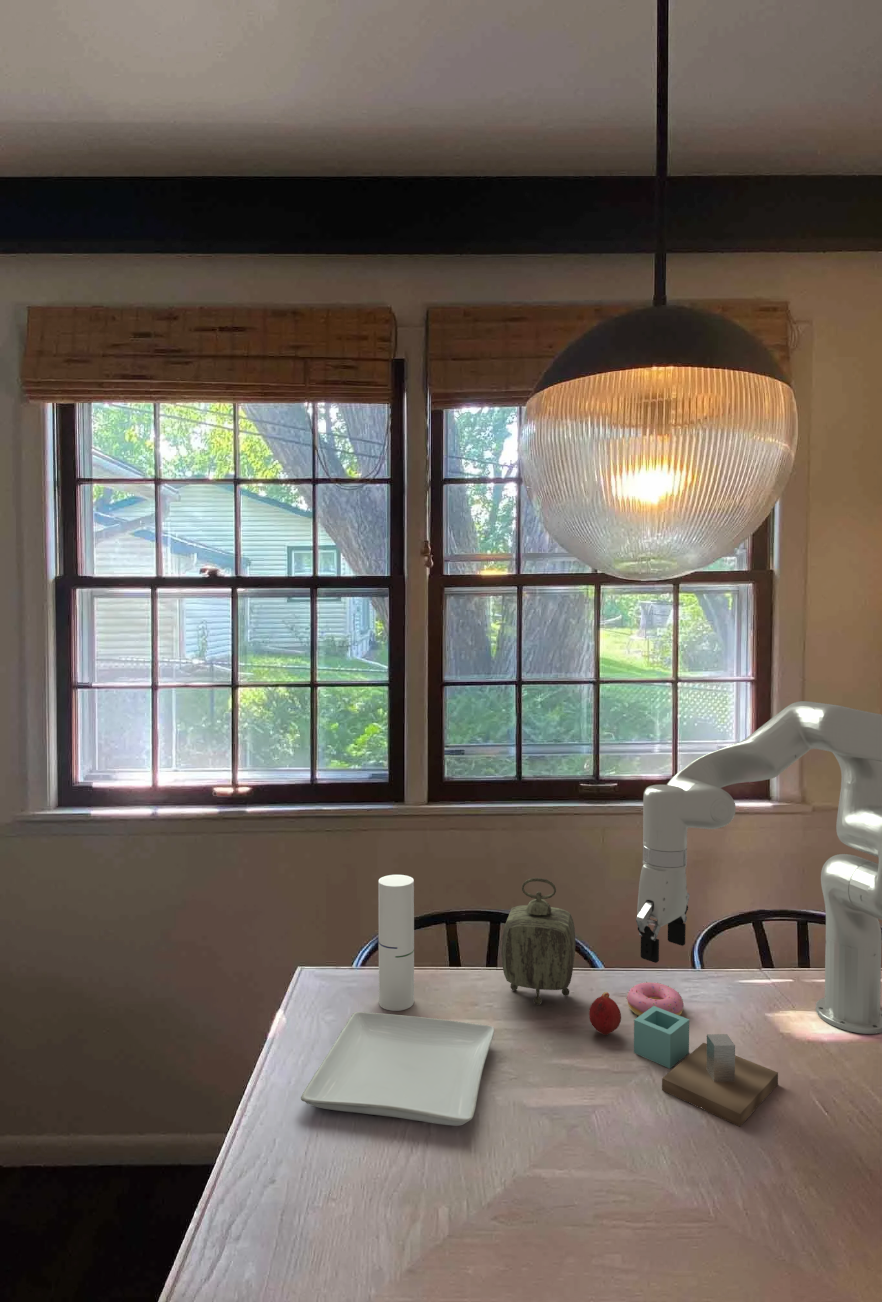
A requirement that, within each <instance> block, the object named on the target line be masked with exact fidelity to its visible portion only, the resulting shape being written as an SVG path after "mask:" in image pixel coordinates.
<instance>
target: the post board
mask: <svg viewBox="0 0 882 1302" xmlns="http://www.w3.org/2000/svg"><path fill="white" fill-rule="evenodd" d="M778 1085H779V1072H777V1071H775V1070H772V1069H770V1068H767V1067H765V1066H763V1065H760V1064H758V1063H755V1062H753V1061H751V1060H748V1059H745V1058H742V1057H741V1056H739V1055H736V1045H735V1043H734V1041H732V1039H731V1038H730V1035H728V1034H727V1033H726V1034H724V1033H721V1034H720V1033H718V1034H717V1033H711V1034H710V1033H709V1034H706V1042H702V1043H701V1044H700V1045H699V1046H697V1047H696V1048H695V1049H694V1050H693V1051H692V1052H690V1053H689V1054H687V1055H686V1057H685V1058H684V1059H683V1060H681V1061H679V1063H678V1064H676V1065H675V1067H672V1068H671V1070H670V1071H668V1073H666V1074H665V1075H664V1076H663V1077H662V1078H661V1091H662V1092H665V1093H667V1094H669V1095H672V1096H673V1097H675V1096H676V1097H675V1098H678V1099H680V1100H682V1101H684V1100H685V1102H686V1101H687V1102H686V1103H688V1102H690V1103H692V1104H691V1105H693V1104H694V1105H693V1106H695V1105H696V1106H695V1107H697V1106H698V1107H697V1108H699V1107H702V1108H703V1109H705V1110H706V1112H707V1111H708V1112H707V1113H710V1114H712V1115H715V1116H717V1117H718V1118H721V1119H723V1120H725V1121H727V1122H729V1123H731V1124H733V1125H736V1126H738V1127H741V1126H742V1125H743V1124H744V1123H745V1122H746V1121H747V1119H749V1117H750V1116H751V1115H752V1114H753V1113H754V1112H755V1111H756V1110H757V1108H758V1107H760V1105H761V1104H762V1102H764V1101H765V1100H766V1099H767V1097H768V1096H769V1095H770V1094H772V1092H773V1090H775V1089H776V1087H778ZM690 1103H689V1104H690ZM703 1109H702V1110H703ZM705 1110H704V1111H705Z"/></svg>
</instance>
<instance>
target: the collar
mask: <svg viewBox="0 0 882 1302" xmlns="http://www.w3.org/2000/svg"><path fill="white" fill-rule="evenodd" d="M633 1054H635V1055H638V1056H641V1057H643V1058H644V1059H647V1060H649V1061H652V1062H654V1063H656V1064H659V1065H660V1066H663V1067H665V1068H667V1069H672V1068H674V1066H676V1065H677V1063H678V1062H681V1061H682V1059H683V1058H684V1057H685V1056H688V1055H689V1054H690V1019H688V1018H686V1017H684V1016H681V1015H680V1016H679V1015H676V1014H674V1013H671V1012H668V1011H666V1010H663V1009H661V1008H658V1007H655V1006H653V1007H651V1008H650V1009H649V1010H647V1011H646V1012H644V1013H643V1014H642V1015H640V1016H637V1017H636V1018H635V1019H633Z"/></svg>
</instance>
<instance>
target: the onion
mask: <svg viewBox="0 0 882 1302" xmlns="http://www.w3.org/2000/svg"><path fill="white" fill-rule="evenodd" d="M588 1015H589V1022H590V1024H591V1026H592V1027H593V1028H594V1029H595V1031H596V1032H598V1033H599V1034H601V1035H603V1036H608V1035H610V1034H611V1033H613V1032H614V1031H616V1030H617V1029H618V1027H619V1026H620V1024H621V1023H622V1022H621V1020H622V1013H621V1010H620V1008H619V1006H618V1004H617V1003H616V1001H614V1000H613V999H612V998H611V997H610V993H609V992H608V991H604V992H603V993H602V994H601V995H600V996H598V997H597V998H595V1000H593V1002H592V1003H591V1004H590V1007H589V1011H588Z"/></svg>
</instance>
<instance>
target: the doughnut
mask: <svg viewBox="0 0 882 1302" xmlns="http://www.w3.org/2000/svg"><path fill="white" fill-rule="evenodd" d="M625 999H626V1000H627V1005H628V1007H629V1009H630V1010H631V1011H632V1012H633V1013H634V1014H635V1015H636V1016H637V1017H639V1016H640V1015H642V1014H643V1013H644V1012H646V1011H647V1010H649V1009H650V1008H651V1007H653V1006H655V1007H658V1008H661V1009H663V1010H666V1011H668V1012H671V1013H674V1014H676V1015H679V1016H681V1014H683V1008H684V1007H685V1006H684V999H683V997H682V995H681V994H680V992H679V991H677V990H676V989H675V988H673V987H671V986H669V985H666V984H662V983H659V982H648V981H646V982H641V983H637V984H635V985H633V986H631V988H630V989H629V990H628V991H627V995H626V998H625Z"/></svg>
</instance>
